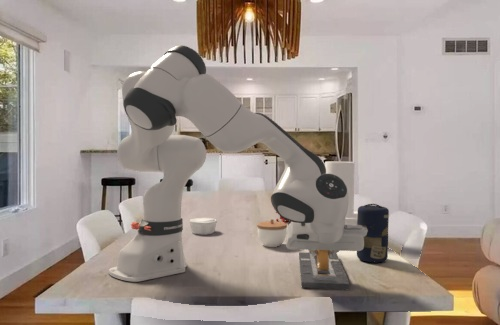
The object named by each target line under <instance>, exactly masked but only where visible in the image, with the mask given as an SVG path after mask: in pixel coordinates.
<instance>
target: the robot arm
mask: <svg viewBox="0 0 500 325" xmlns="http://www.w3.org/2000/svg"><path fill="white" fill-rule="evenodd" d="M121 96H122V101H123V102H122V104H123V109H124V112H125V115H126V117H127V119H128V121H129V122H128V123H129V125H130V129H131V133H130V134H128V135H127V136H125V137H124V138H122V139H121V141H120V142H119V144H118V146H117V150H116V156H117V157H116V158H117V161H118V163H119V164H120V166H121V167H122V168H123V169H124V170H127V171H133V172H137V173H138V172H139V173H163V177H162V180H161V181H160V182H158V183H155V184H153V185H152V186H150V187H148V188H147V189H146V190H145V191H144V193H143V197H142V211H143V212H142V217H143V218H142V219H141V222H135V221H133V222H131V224H130V228H131V229H132V230H137V233H136V234H135V236H134V237H133V238H132V239H131V240H130V241H129V242H128V243H127V244H125V245H124V246H123V247H122V248H121V249H120V250H119V253H118V255H117V262H116V266H113V267H111V268H109V269H108V274H109V276H111V277H112V278H116V279H119V280H122V281H124V282H125V281H127V282H131V283H132V282H133V283H137V282H143V281H147V280H148V281H149V280H152V279H158V278H162V277H167V276H172V275H177V274H182V273H185V272H186V267H188V264H187V261H186V260H187V259H186V257H185V253H184V246H183V244H184V243H183V237H182V236H183V234H182V232H183V230H184V227H183V226H184V223H183V221H184V220H183V218H182V203H183V202H182V201H183V193H184V189H185V187H186V185H187V183H188V181H189V180H190V178H191V177H192V176H193V175H194V174H195V173H196V172H197V171H199V170H200V169H202V167H203V165H204V164H205V162H206V159H207V149H206V146H205V144H204V142H203V141H202V140H201V139H200V138H199V137H196V136H191V135H185V134H173V132H174V128H175V125H176V124H177V117H182V118H186V119H187V120H188V121H190V123H192V125H194V126H195V128H196V129H198V131H199V132H200V133H201V134H202V135H203V136H204V137H205V138H206V140H207V141H208V142H209V143H210V144H211V145H212V146H213V147H215V148H216V149H217V150H219V151H220V152H222V153H227V154H237V153H241V152H242V151H243V152H244V151H246V150H248V149H249V148H251V147H253V146H255V145H257V144H258V143H261V144H263V145H265V146H267V148H268V149H270V150H271V151H272V152H274V154H276V155H277V156H278V157H280V158H281V159H282V160H283V163H284V170H283V172H282V174H281V176H280V178H279V179H278V180H279V181H278V182H277V183H276V185H275V188H274V190H273V192H272V194H271V196H270V202H271V205H272V207H273V209H274V210H275V213H276V212H277V213H276V214H278V215H279V217H280V216H281V217H282V218H284V219H286V220H289V221H288V222H290V223H289V224H288V225H287V231H286V237H285V247H286V248H287V249H288V250H305V251H307V250H308V251H310V252H311V253H312V256H317V250H329V256H333V257H334V255H335V254H336V253H337V254H338V253H339V252H344V251H347V252H348V251H349V252H357V251H361V250H362V249H363V248H364V237H365V236H366V235H367V231H368V230H367V228H365V227H362V225H345V220H346V219H345V216H346V214H347V210H348V199H349V197H348V189H347V186H346V184H345V183H344V181H343V180H342V179H341V178H340V177H338V176H336V175H334V174H326V168H325V162H324V161H323V160H322V159H321V157H319V156H318V155H317V154H315V153H314V152H312V151H310V150H308V149H307V148H306V147H305V146H303V145H302V144H301V143H300V142H298V141H297V140H296V139H295V138H294V137H293V136H292V135H290V134H289V133H288V132H287V131H286V130H284V128H282V127H281V126H280V125H279V124H278V123H276V122H275V121H274V120H273V119H272V118H270V117H269V116H268V115H266V114H263V113H262V112H253V111H252V110H250V109H249V108H247V107H246V106H245V105H244V104H243V103H242V102H241V101H240V100H239V99H238V97H236V96H235V94H233V92H231V91H230V89H228V88H227V86H225V85H224V84H222V82H220V81H218V79H216V78H215V77H213V76H212V75H210V74H207V67H206V63H205V61H204V59H203V57H202V56H201V55H200V54H199V53H198V52H197V51H196V50H195V49H193V48H191V47H190V46H187V45H183V44H182V45H181V44H180V45H176V46H174V47H172V48H170V49H169V50H167V51H165V53H164V54H163V56H161V57H160V58H159V59H158V60H156V61H155V62H154V63H153V64H152V65H151V66H150V67H148V68H147V70H145V71H143V70H141V71H136V72H133V73H131V74H129V75H128V76H127V77H126V78H125V79H124V81H123V82H122V86H121ZM286 220H285V221H286Z"/></svg>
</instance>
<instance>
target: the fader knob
mask: <svg viewBox="0 0 500 325" xmlns="http://www.w3.org/2000/svg"><path fill="white" fill-rule="evenodd" d="M317 269H318V272H319V273H325V274H328V269H329V250H317Z"/></svg>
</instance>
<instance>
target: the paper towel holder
mask: <svg viewBox="0 0 500 325" xmlns="http://www.w3.org/2000/svg"><path fill="white" fill-rule="evenodd" d="M324 165H325V168H326V174H334V175H336V176H338V177H340V178H341V179H342V180H343V181H344V183H345V184H346V186H347V189H348V197H349V199H348V210H347V214H346V216H345V219H346V220H345V225H357V216H358V210H356V211H355V210H354V209H355V162H354V161H345V160H344V161H341V160H340V161H338V160H337V161H336V160H334V161H332V160H331V161H329V160H328V161H325V162H324Z"/></svg>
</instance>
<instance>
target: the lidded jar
mask: <svg viewBox="0 0 500 325" xmlns="http://www.w3.org/2000/svg"><path fill="white" fill-rule="evenodd" d="M256 228H257V236H258V239H259V241H260V242H261V243H262V245H263V246H264V247H266V248H277V246H279V247H280V246H281V245H282V244H283V243H284V241H286V234H287V229H288V224H287V222H286V223H284V222H282V221H276V220H275V221H274V219H272V218H270V221H268V220H267V221H260V222H258V223H257V224H256Z"/></svg>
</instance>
